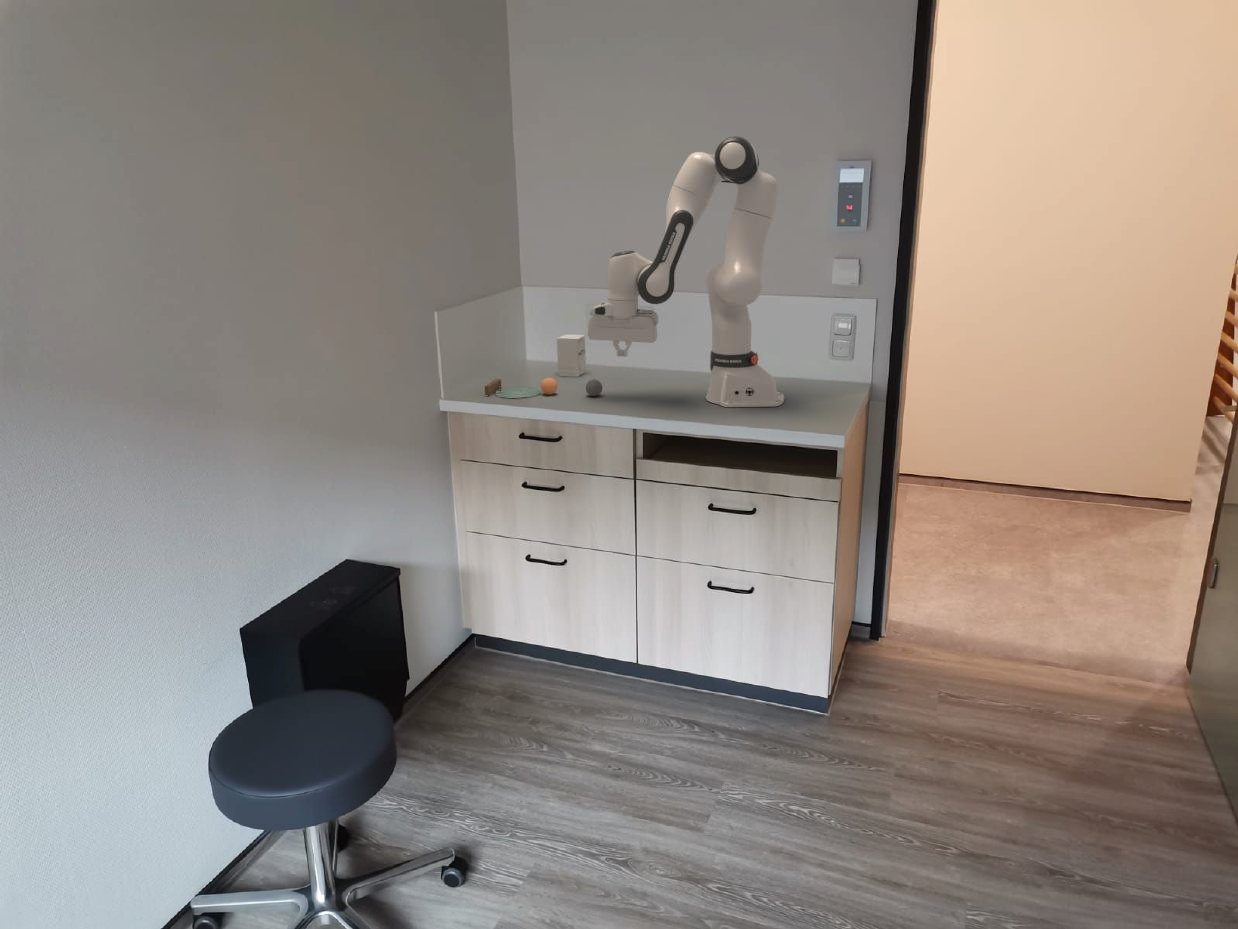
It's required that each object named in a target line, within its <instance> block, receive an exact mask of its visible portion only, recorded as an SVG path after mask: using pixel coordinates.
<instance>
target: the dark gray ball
mask: <svg viewBox="0 0 1238 929" xmlns="http://www.w3.org/2000/svg"><path fill="white" fill-rule="evenodd" d="M602 391H603V383H602V382H600V380H597V379H591V380H588V381H587V383H586V385H585V392H586V393H587V394H588V395H589V396H591V397H598V396H599V395H600V394H602Z"/></svg>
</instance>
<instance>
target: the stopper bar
mask: <svg viewBox="0 0 1238 929" xmlns="http://www.w3.org/2000/svg"><path fill="white" fill-rule="evenodd" d="M500 388H501V389H502V379H501V378H495V379H493V380H492V381H490V382H489V383H487V385H485V386H484V396H485V395H489V396H488V397H491V396H492V395H491V394H493V393H494V392H495V393H496V391H497V390H498V391H499V389H500ZM501 389H500V390H501ZM495 393H494V394H495ZM494 394H493V395H494ZM490 395H491V396H490Z"/></svg>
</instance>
